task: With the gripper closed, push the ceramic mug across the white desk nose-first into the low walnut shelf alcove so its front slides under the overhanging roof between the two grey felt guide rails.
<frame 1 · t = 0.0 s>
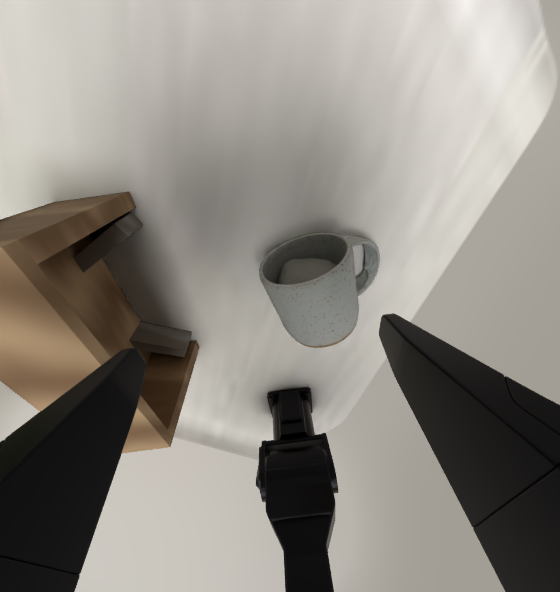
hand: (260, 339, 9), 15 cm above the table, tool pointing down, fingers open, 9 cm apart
ceramic mug: (318, 264, 24), on the table
alcove: (142, 290, 24), on the table
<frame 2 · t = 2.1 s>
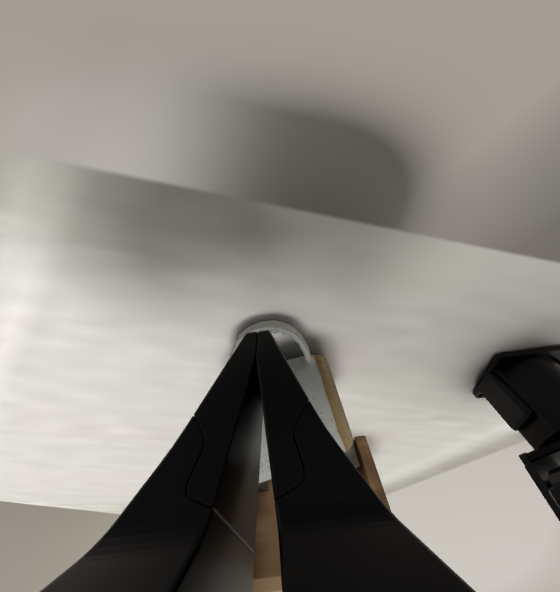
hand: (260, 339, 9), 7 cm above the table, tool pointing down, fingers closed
ceramic mug: (276, 361, 21), on the table
alcove: (295, 455, 31), on the table
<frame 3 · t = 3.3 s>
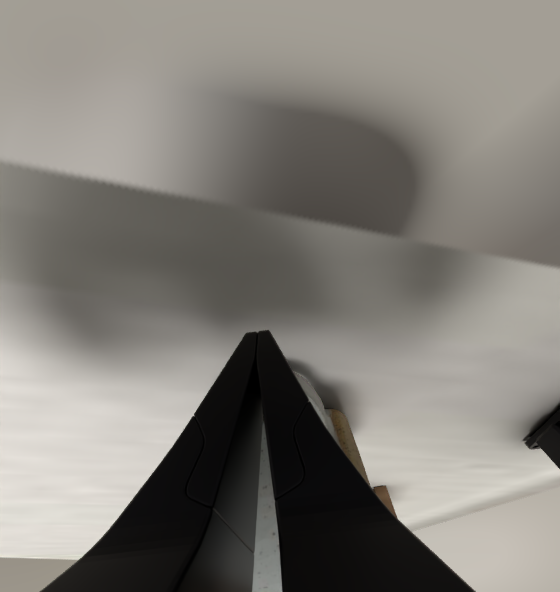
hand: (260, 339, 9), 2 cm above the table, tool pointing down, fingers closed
ceramic mug: (277, 412, 16), on the table
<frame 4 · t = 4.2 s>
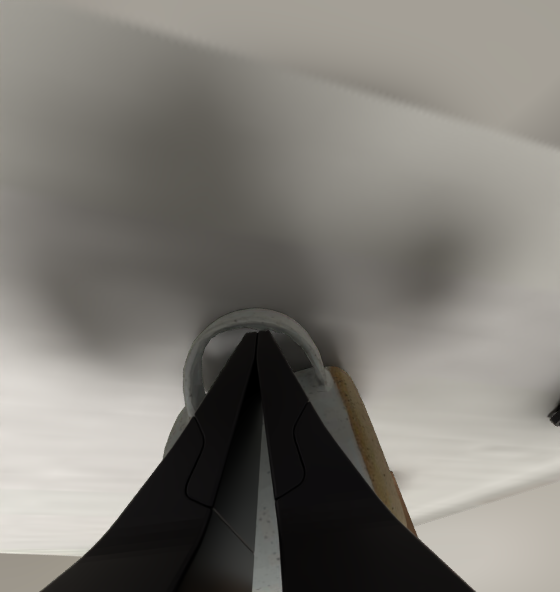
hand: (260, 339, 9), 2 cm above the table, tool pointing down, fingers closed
ceramic mug: (267, 374, 13), on the table, touching gripper
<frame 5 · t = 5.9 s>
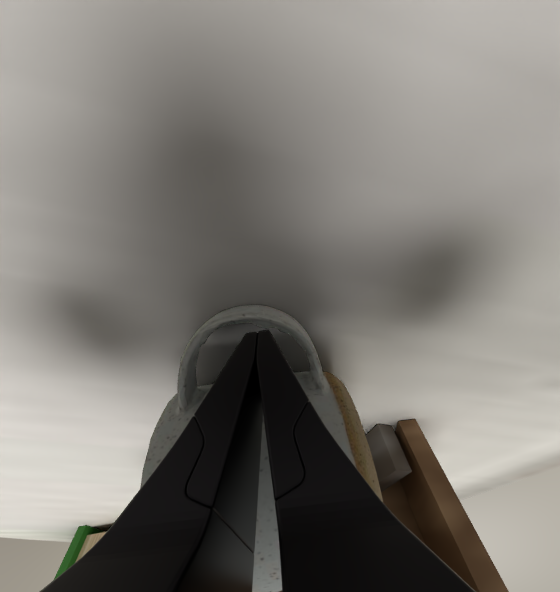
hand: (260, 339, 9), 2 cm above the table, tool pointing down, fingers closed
ceramic mug: (258, 374, 13), on the table, touching gripper
hardback book: (158, 536, 30), on the table
alcove: (293, 453, 19), on the table
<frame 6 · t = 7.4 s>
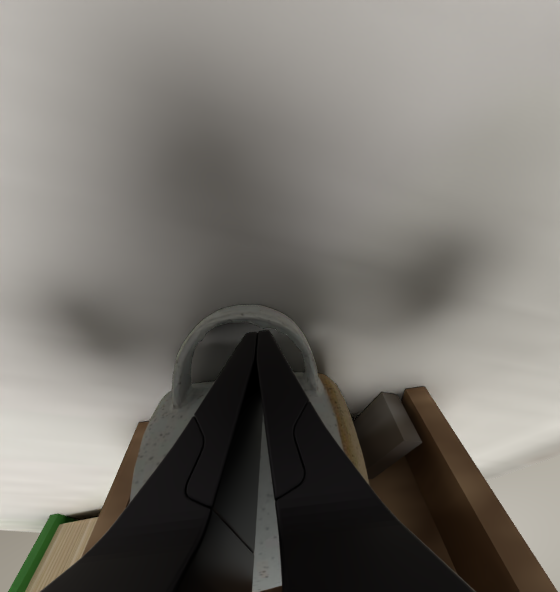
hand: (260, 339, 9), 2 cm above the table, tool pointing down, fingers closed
ceramic mug: (252, 373, 13), on the table, touching gripper
hardback book: (141, 527, 28), on the table
alcove: (285, 428, 16), on the table
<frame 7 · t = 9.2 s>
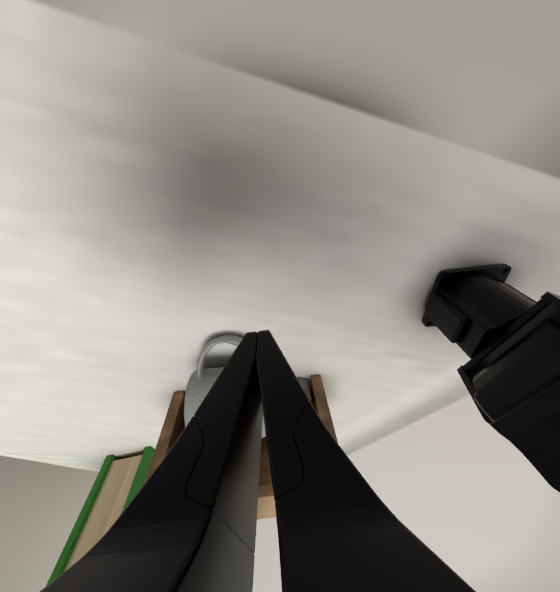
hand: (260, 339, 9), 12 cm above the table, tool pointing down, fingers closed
ceramic mug: (232, 364, 27), on the table
hardback book: (160, 470, 41), on the table
alcove: (251, 397, 31), on the table
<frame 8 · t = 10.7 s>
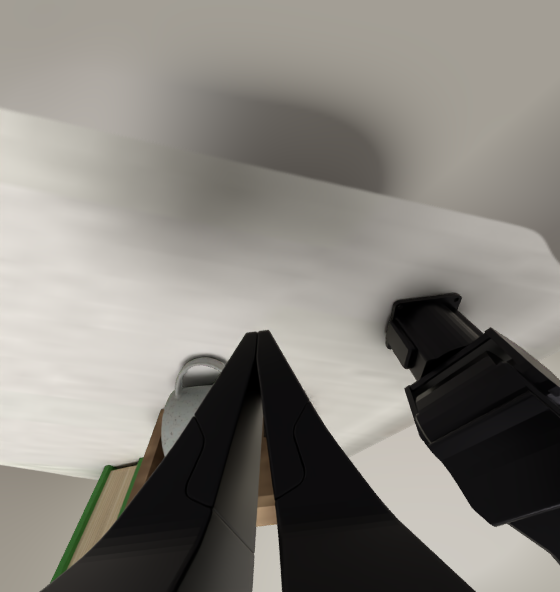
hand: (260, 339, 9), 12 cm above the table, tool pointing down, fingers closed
ceramic mug: (211, 382, 29), on the table
hardback book: (156, 478, 44), on the table
alcove: (233, 412, 33), on the table
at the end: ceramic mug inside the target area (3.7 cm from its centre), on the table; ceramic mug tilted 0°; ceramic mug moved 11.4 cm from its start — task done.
